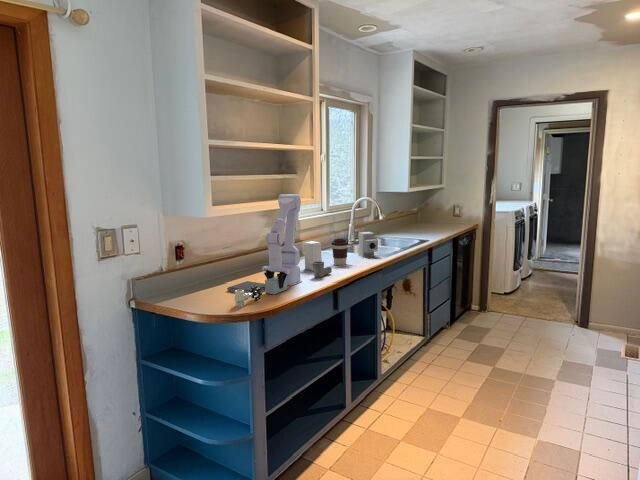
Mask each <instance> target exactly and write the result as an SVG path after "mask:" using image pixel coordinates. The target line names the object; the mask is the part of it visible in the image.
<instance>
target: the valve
mask: <svg viewBox="0 0 640 480" xmlns="http://www.w3.org/2000/svg"><path fill="white" fill-rule="evenodd" d="M254 287H255V288H254ZM254 287H251V289H252V290H251V291H250V293H248V294H247V293H244V290H236V291H235V293H234V302H235V304H234V305H235V307H236V308H242V307H245V301H248V300H249V298H251V299H253V300H254V302H257V301H258V300H261V299H262V297H261V296H262V295H263V293H262V292H260V290H261V289H260V288H258V289H257V286H254ZM254 290H257V291H254Z"/></svg>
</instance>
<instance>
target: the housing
mask: <svg viewBox="0 0 640 480" xmlns="http://www.w3.org/2000/svg"><path fill="white" fill-rule="evenodd" d="M264 284H265V291H264V292H265V294H270V295H276V294H279V293H281V292H284V291H286V290H288V285H287V277H286V279H285V281H284V285H283V288H281V289H280V288H279V281H278V277H277V275H274V277H272V278H269V279H267V278H266V279H265V280H264Z"/></svg>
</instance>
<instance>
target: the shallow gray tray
mask: <svg viewBox="0 0 640 480" xmlns="http://www.w3.org/2000/svg"><path fill="white" fill-rule="evenodd" d="M254 286H257V289H258V288H260V289H261V290H260V293H262V292H263V293H264V292H265V282H264V283H261V282H257V281H249V280H246V281H243V282H240V283H238V284H234V285H231V286H228V287H227V292H228V293H229V292H230V293H234V294H235V291H236V290H244V293H247V294H248V293H250V291H251V290H252V289H251V287H254ZM254 288H255V287H254ZM254 291H257V290H254Z"/></svg>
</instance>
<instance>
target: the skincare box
mask: <svg viewBox="0 0 640 480" xmlns="http://www.w3.org/2000/svg"><path fill="white" fill-rule="evenodd" d="M303 249H304V250H303V252H304V269H305V270H307V271H308V270H309V271H313V272H314V269H313V265H312V262H323V261H322V260H323V259H322V242H320V241H313V240H311V241H306V242H303Z"/></svg>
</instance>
